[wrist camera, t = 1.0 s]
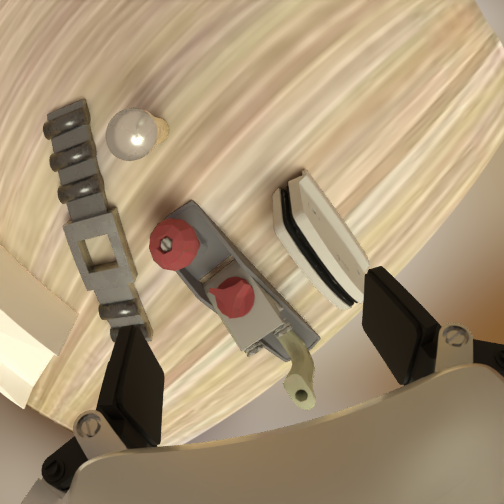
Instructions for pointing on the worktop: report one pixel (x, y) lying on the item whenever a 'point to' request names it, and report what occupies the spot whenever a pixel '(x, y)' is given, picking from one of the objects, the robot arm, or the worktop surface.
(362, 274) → the beige arched grooved block
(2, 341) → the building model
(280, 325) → the hand plane
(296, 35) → the worktop surface
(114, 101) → the worktop surface
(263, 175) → the worktop surface
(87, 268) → the knobbed grey strip
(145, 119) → the pin
